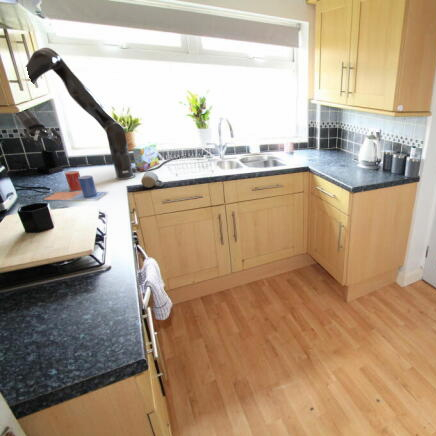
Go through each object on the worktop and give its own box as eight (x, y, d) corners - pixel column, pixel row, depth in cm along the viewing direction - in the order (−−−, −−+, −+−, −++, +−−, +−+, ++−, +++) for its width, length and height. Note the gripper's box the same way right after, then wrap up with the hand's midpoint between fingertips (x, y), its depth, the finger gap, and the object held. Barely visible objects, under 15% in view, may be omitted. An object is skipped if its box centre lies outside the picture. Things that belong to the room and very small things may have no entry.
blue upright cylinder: (87, 193, 168) (82, 175, 163) (99, 193, 168) (94, 175, 164) (81, 197, 162) (75, 178, 158) (93, 197, 163) (88, 178, 159)
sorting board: (57, 193, 168) (56, 192, 168) (106, 192, 172) (106, 191, 171) (43, 200, 158) (43, 199, 158) (96, 199, 162) (96, 198, 162)
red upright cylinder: (74, 188, 176) (68, 170, 172) (86, 188, 177) (81, 170, 173) (67, 192, 170) (62, 174, 166) (80, 191, 171) (74, 174, 167)
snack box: (144, 171, 211) (140, 148, 205) (136, 170, 211) (131, 148, 205) (159, 163, 231) (155, 142, 224) (151, 163, 230) (147, 142, 224)
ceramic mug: (141, 188, 179) (139, 175, 176) (144, 184, 187) (142, 171, 183) (162, 188, 182) (160, 175, 179) (164, 183, 190) (162, 171, 186)
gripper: (15, 118, 159) (37, 143, 160) (47, 115, 172) (67, 139, 172) (12, 128, 163) (33, 153, 164) (44, 125, 175) (63, 148, 176)
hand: (51, 146), depth 168 cm, fingers open, 8 cm apart
